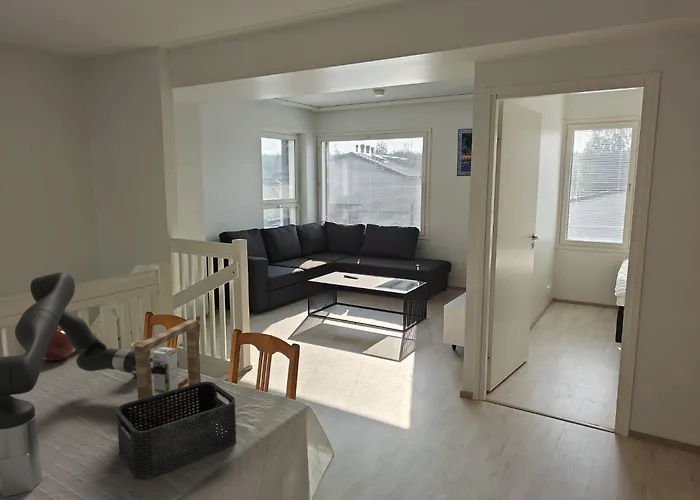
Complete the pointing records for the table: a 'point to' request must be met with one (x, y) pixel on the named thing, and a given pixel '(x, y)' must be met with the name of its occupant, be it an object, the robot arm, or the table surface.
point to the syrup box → (168, 361)
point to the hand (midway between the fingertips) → (171, 367)
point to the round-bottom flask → (58, 346)
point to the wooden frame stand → (145, 363)
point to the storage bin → (175, 428)
